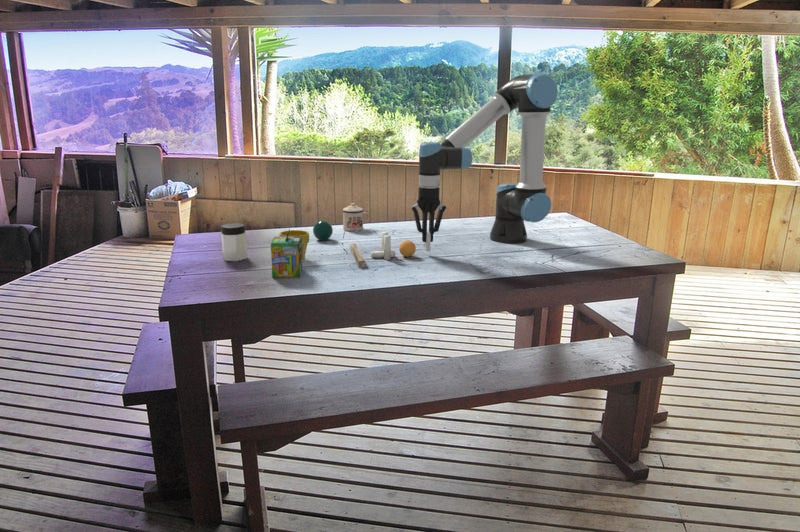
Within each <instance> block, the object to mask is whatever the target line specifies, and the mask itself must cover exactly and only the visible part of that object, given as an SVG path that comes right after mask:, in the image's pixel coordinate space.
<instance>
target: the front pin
mask: <svg viewBox="0 0 800 532" xmlns="http://www.w3.org/2000/svg"><path fill="white" fill-rule="evenodd" d="M371 257H372V258H371ZM395 257H396V251H395V250H391V258H395ZM370 258H371V259H381V258H382V259H384V251H382V250H380V251H379V250H376V251H375V250H374V251H371V252H370Z"/></svg>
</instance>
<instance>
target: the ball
mask: <svg viewBox="0 0 800 532" xmlns="http://www.w3.org/2000/svg"><path fill="white" fill-rule="evenodd" d="M415 244H416V243H414V242H413V241H411V240H404V241H402V242H401V243H400V244H399V252H400V254H401V255H402V256H403V257H406V258H410V257H412V256H414V254H415V253H416V250H417V249H416V248H417V247H416V245H415Z"/></svg>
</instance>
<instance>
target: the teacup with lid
mask: <svg viewBox="0 0 800 532" xmlns="http://www.w3.org/2000/svg"><path fill="white" fill-rule="evenodd" d="M342 215H343V216H342V217H343V218H342V219H343V223H342V224H343V226H342V227H343V230H344V231H345V230H347V231H346V232H360V231H359V230H361V231H363V230H362V229H364V224H367V223H368V222H369V219H370V214H369V213H368V212H364V209H363V207H360V206H358V205H356V203H355V202H351V203H350V205H348V206H345V207H343V209H342ZM364 215H366V216H367V219H366V220H365V221H364Z"/></svg>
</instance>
